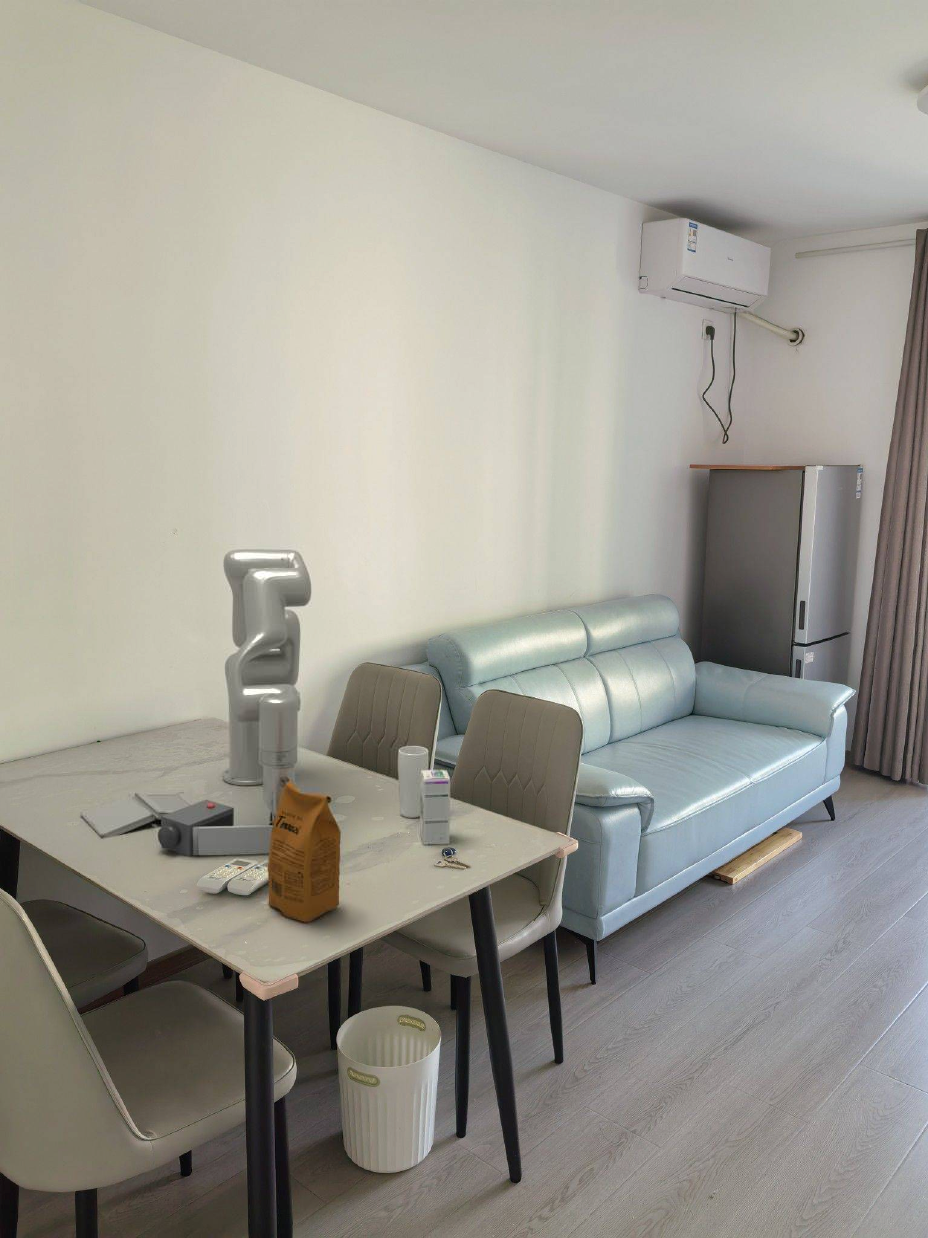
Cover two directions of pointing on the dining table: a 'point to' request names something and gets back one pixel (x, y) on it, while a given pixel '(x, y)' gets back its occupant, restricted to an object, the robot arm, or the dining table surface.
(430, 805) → the syrup box
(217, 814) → the gray box with knob
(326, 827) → the coffee package
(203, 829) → the side door
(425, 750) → the drinking glass
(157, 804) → the gadget
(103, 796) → the dining table surface
